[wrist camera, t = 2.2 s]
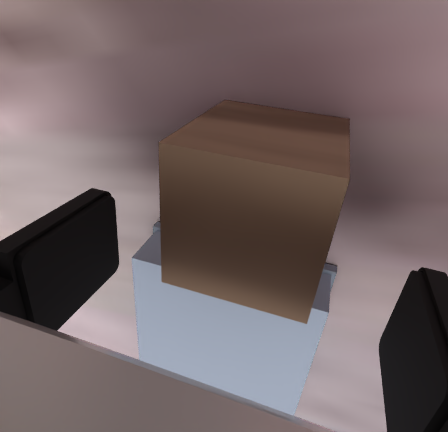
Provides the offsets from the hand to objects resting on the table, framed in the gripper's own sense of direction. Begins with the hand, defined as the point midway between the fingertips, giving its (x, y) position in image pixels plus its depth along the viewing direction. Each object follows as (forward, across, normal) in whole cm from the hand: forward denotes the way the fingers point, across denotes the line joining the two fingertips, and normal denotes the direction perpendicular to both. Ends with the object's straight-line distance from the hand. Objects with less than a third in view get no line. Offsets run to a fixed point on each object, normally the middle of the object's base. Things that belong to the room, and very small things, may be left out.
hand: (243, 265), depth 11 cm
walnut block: (+6, 0, -1) cm, 6 cm away
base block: (+6, +1, +8) cm, 10 cm away
